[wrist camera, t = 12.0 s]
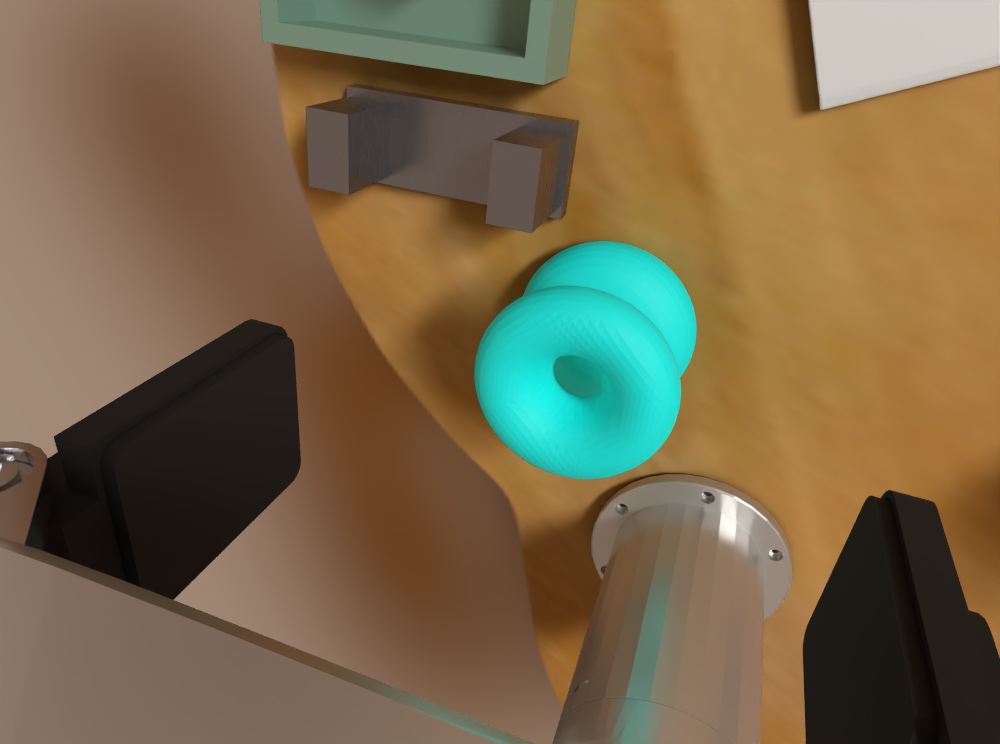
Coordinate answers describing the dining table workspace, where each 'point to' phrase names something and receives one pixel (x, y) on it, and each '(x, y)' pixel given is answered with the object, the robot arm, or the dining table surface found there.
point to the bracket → (444, 152)
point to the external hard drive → (898, 44)
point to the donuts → (588, 361)
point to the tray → (433, 33)
